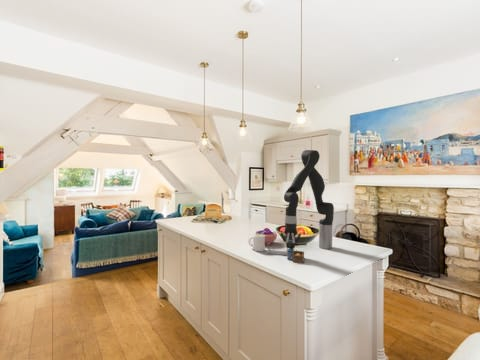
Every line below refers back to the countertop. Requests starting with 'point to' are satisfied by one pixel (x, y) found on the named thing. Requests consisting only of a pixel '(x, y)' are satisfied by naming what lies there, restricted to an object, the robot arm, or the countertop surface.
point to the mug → (258, 242)
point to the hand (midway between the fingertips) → (290, 248)
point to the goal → (298, 257)
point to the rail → (278, 252)
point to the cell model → (268, 235)
